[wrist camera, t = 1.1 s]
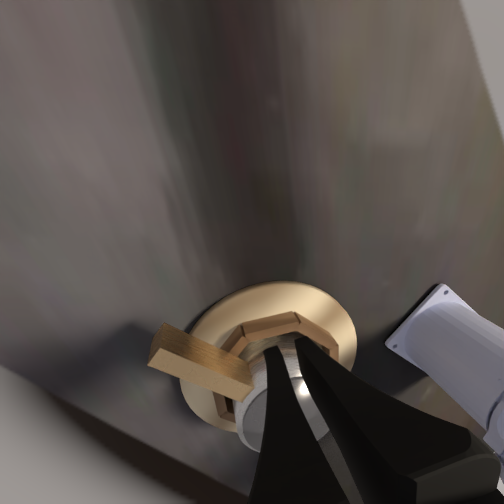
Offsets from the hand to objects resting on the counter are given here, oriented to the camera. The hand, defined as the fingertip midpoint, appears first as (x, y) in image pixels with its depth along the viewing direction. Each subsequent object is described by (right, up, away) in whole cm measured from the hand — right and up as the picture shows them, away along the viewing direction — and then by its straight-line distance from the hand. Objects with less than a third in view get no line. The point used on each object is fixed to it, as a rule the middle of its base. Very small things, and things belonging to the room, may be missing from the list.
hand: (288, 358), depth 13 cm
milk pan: (-2, -3, +10) cm, 11 cm away
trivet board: (0, -5, +12) cm, 13 cm away
